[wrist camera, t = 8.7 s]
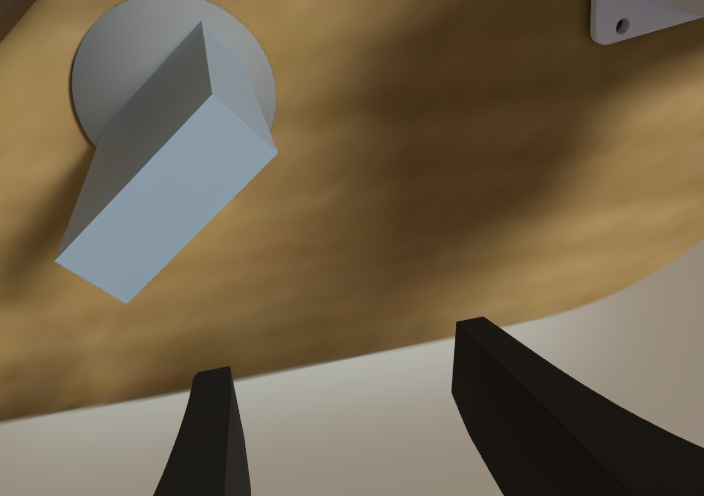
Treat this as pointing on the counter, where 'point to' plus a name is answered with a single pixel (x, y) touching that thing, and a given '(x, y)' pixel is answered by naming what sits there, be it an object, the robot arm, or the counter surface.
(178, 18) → the disc
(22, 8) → the domino
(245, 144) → the domino head
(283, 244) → the counter surface
